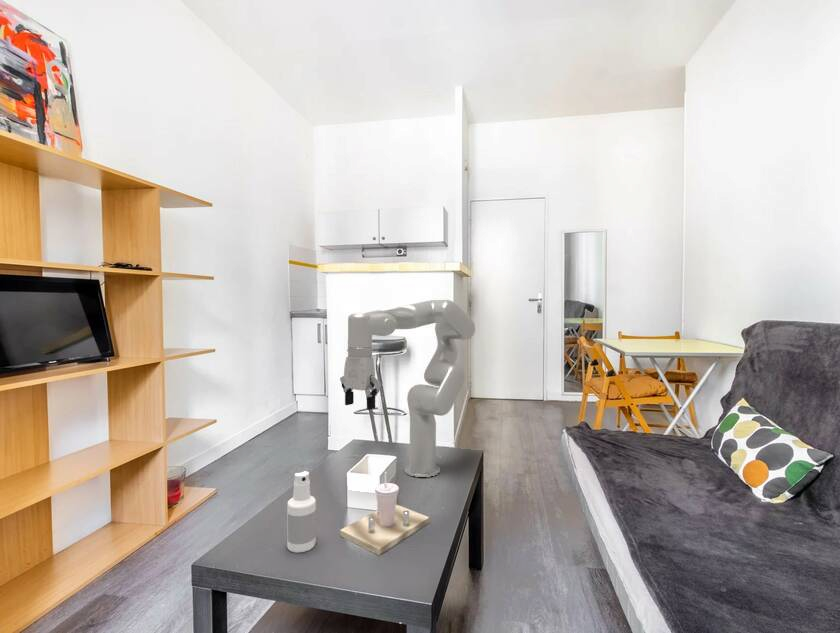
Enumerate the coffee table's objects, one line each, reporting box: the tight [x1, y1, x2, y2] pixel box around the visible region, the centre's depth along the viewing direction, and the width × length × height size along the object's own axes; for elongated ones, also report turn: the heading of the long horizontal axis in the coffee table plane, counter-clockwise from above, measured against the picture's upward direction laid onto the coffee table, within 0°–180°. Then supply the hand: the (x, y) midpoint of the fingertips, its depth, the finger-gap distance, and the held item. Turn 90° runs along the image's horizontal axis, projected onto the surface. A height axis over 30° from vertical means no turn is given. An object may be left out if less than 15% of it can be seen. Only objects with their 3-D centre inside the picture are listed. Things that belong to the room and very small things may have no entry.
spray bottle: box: [286, 470, 317, 554], centre depth 104 cm, size 7×7×18 cm
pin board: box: [339, 502, 430, 556], centre depth 112 cm, size 20×14×5 cm
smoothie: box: [374, 471, 400, 527], centre depth 112 cm, size 6×6×14 cm
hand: (359, 406), depth 133 cm, fingers open, 9 cm apart
